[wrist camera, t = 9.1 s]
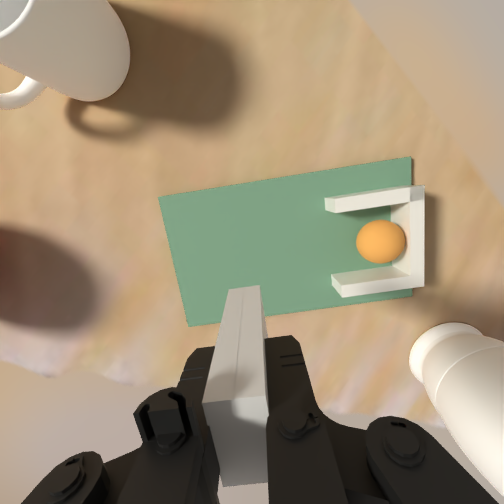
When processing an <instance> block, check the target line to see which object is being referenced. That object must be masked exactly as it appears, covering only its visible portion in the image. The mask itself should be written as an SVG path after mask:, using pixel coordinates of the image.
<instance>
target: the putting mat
mask: <svg viewBox="0 0 504 504" xmlns="http://www.w3.org/2000/svg"><path fill="white" fill-rule="evenodd" d="M404 185H411V157H405V158H399V159H392V160H386V161H380V162H374V163H367V164H361V165H355V166H349V167H342V168H336V169H330V170H324V171H317V172H311V173H305V174H299V175H292V176H286V177H280V178H274V179H267V180H261V181H255V182H249V183H243V184H236V185H230V186H224V187H218V188H211V189H205V190H199V191H193V192H186V193H180V194H174V195H168V196H161V197H158V199H159V204H160V208H161V212H162V216H163V221H164V225H165V229H166V233H167V238H168V242H169V246H170V250H171V255H172V259H173V263H174V267H175V272H176V276H177V280H178V284H179V289H180V293H181V297H182V301H183V306H184V310H185V314H186V318H187V323H188V327H192V326H199V325H206V324H214V323H221V320H222V316H223V312H224V308H225V303H226V299H227V295H228V291H229V289H235V288H242V287H249V286H256V285H260V290H261V296H262V302H263V309H264V315H265V316H272V315H279V314H287V313H294V312H301V311H309V310H316V309H323V308H330V307H338V306H345V305H352V304H360V303H367V302H374V301H382V300H389V299H396V298H404V297H411V296H412V288H409V289H402V290H394V291H387V292H380V293H373V294H365V295H358V296H351V297H344V298H342V297H341V296H340V294H339V293H338V292H337V291H336V289H335V288H334V287H333V286H332V279H331V274H336V273H343V272H350V271H358V270H365V269H372V268H379V267H386V266H392V261H390V262H387V263H382V264H379V263H373V262H370V261H368V260H366V259H365V258H363V257H362V256H361V254H360V253H359V251H358V249H357V246H356V239H357V235H358V233H359V231H360V230H361V228H362V227H363V226H364V225H366V224H367V223H369V222H372V221H375V220H387V221H390V222H391V208H390V205H386V206H380V207H373V208H366V209H360V210H353V211H347V212H340V213H333V212H330V211H327V210H325V198H326V197H332V196H339V195H345V194H352V193H358V192H364V191H371V190H377V189H384V188H390V187H397V186H404Z"/></svg>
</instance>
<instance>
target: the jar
mask: <svg viewBox="0 0 504 504" xmlns="http://www.w3.org/2000/svg"><path fill="white" fill-rule="evenodd" d="M409 364H410V369H411V371H412V373H413V375H414V376H415V377H416V378H417V379H418V380H419V381H420V382H421V383H423V384H424V385H425V389H426V391H427V394H428V396H429V398H430V400H431V402H432V404H433V405H434V407H435V409H436V410H437V412H438V413H439V415H440V416H441V418H442V420H443V422H444V423H445V425H446V427H447V429H448V430H449V432H450V434H451V435H452V436H453V438H454V440H455V441H456V443H457V444H458V445H459V447H460V448H461V449H462V451H463V452H464V454H465V455H466V456H467V457H468V459H469V460H470V461H471V462H472V463H473V464H474V466H475V467H476V468H477V469H478V470H479V472H480V473H481V474H482V475H483V476H484V477H485V478H486V479H487V480H488V481H489V482H490V483H491V484H492V486H493V487H494V488H495V489H496V490H497V491H499V493H500V494H502V496H503V497H504V342H503V341H501V340H498V339H494V338H491V337H487V336H483V334H482V333H481V332H480V331H479V330H477V329H476V328H474V327H472V326H470V325H468V324H464V323H457V322H452V323H444V324H440V325H437V326H435V327H433V328H431V329H429V330H427V331H426V332H425V333H423V334H422V335H421V336H420V337H419V338H418V339H417V340H416V342H415V343H414V345H413V347H412V349H411V352H410V356H409Z"/></svg>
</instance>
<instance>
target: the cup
mask: <svg viewBox="0 0 504 504" xmlns="http://www.w3.org/2000/svg"><path fill="white" fill-rule="evenodd" d="M0 63H1V64H3V65H5V66H7V67H9V68H11V69H13V70H15V71H17V72H19V73H21V74H23V75H25V76H26V77H25V79H24V81H23V82H22V83H21V85H20V86H19V87H18V88H16V89H15V90H14V91H12V92H9V93H4V94H0V109H4V110H10V109H17V108H21V107H24V106H26V105H28V104H30V103H31V102H33V101H34V100H35V99H36V98H38V97H39V96H40V95H41V93H42V92H43V91H44V90H45V89H46V88H47V87H49V88H51V89H53V90H55V91H57V92H59V93H61V94H63V95H66V96H68V97H71V98H73V99H77V100H81V101H98V100H102V99H105V98H107V97H109V96H111V95H112V94H113V93H115V92H116V91H117V90H118V89H119V88H120V86H121V85H122V84H123V82H124V80H125V78H126V76H127V73H128V70H129V65H130V47H129V41H128V37H127V34H126V31H125V28H124V26H123V24H122V22H121V20H120V18H119V17H118V15H117V14H116V12H115V11H114V9H113V8H112V7H111V5H110V4H109V3H108V1H107V0H0Z"/></svg>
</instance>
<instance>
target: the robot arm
mask: <svg viewBox="0 0 504 504" xmlns="http://www.w3.org/2000/svg"><path fill="white" fill-rule="evenodd" d="M133 415H134V418H135V421H136V424H137V427H138V429H139V432H140V435H141V438H142V441H143V443H142V445H141V447H140V448H138V449H136V450H134V451H132V452H130V453H127V454H125V455H123V456H120V457H118V458H116V459H113V460H111V461H109V462H106V463H103V461H102V458H101V456H100V455H99V454H97V453H95V452H93V451H91V452H82V453H79V454H77V455H74V456H72V457H70V458H68V459H67V460H65V461H64V462H62V463H61V464H59V465H57V466H56V467H55V468H54V469H53V470H52V471H51V472H50V473H49V474H48V475H47V476H46V477H45V478H43V480H42V481H41V482H40V483H39V484H38V485H37V486H36V487H35V488H34V490H33V491H32V492H31V493H30V494H29V495H28V496H27V497H26V499H25V500H24V501H23V502H22V503H21V504H220V503H219V499H218V496H217V492H218V484H219V475H220V476H221V480H222V484H223V487H227V486H237V485H247V484H256V483H266V482H268V490H269V504H499V503H497V501H496V500H495V499H494V498H493V497H492V496H491V495H490V494H489V493H488V492H487V491H486V490H485V489H484V488H483V487H482V486H481V485H480V484H479V483H478V482H477V481H476V480H475V479H474V478H473V477H472V476H471V475H470V474H469V473H468V472H467V471H466V470H465V469H464V468H463V467H462V466H461V465H460V464H459V463H458V462H457V461H456V460H455V459H454V458H453V457H452V456H451V455H450V454H449V453H448V452H447V451H446V450H445V449H444V448H443V447H442V446H441V445H440V444H439V443H438V441H437V440H436V439H434V437H432V435H430V434H429V433H428V432H427V431H425V430H424V429H423V428H422V427H420V426H419V425H418V424H415V423H413V422H411V421H409V420H407V419H405V418H399V417H394V416H387V417H380V418H378V419H376V420H375V421H373V422H371V423H370V424H369V427H368V429H367V430H363V429H358V428H353V427H348V426H345V425H341V424H338V423H336V422H334V421H333V420H331V419H329V418H328V417H327V416H325V415H324V414H323V412H322V411H321V410H320V409H319V407H318V405H317V403H316V400H315V397H314V393H313V390H312V386H311V382H310V379H309V375H308V372H307V368H306V365H305V361H304V357H303V354H302V350H301V347H300V343H299V342H298V341H297V340H296V339H295V338H294V337H293V336H292V335H289V336H281V337H274V338H268V334H267V328H266V321H265V315H264V309H263V302H262V296H261V290H260V285H256V286H249V287H242V288H235V289H229V291H228V295H227V299H226V303H225V308H224V312H223V316H222V320H221V324H220V329H219V333H218V337H217V341H216V345H215V346H212V347H204V348H197V349H196V350H195V351H194V352H193V353H192V354H191V355H190V356H189V358H188V359H187V362H186V364H185V367H184V372H182V375H181V377H180V381H179V383H178V385H177V387H171V388H167V389H163V390H160V391H158V392H156V393H154V394H152V395H151V396H149V397H148V398H147V399H146V400H144V401H143V402H142V403H141V404H140V405H139V406H138V408H137V409H136V411H135V412H134V413H133Z"/></svg>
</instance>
